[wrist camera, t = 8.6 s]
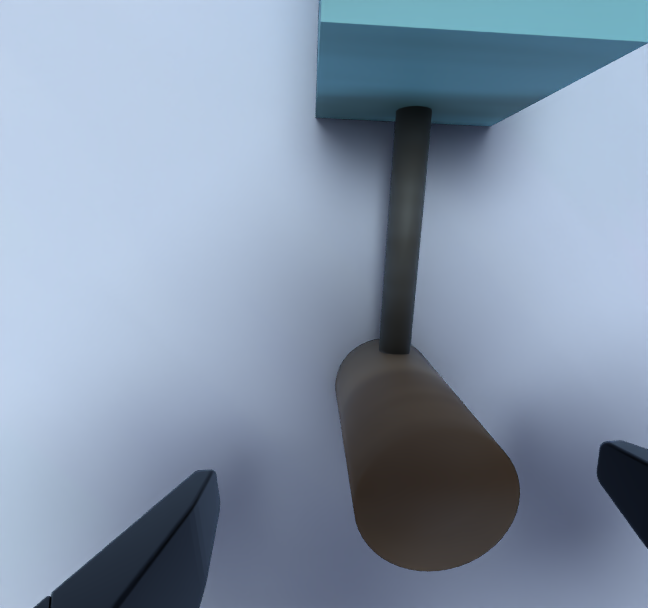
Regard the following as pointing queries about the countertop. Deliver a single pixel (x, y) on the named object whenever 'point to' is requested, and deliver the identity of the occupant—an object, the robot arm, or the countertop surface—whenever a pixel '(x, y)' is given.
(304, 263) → the countertop surface
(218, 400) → the countertop surface
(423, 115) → the blue handled block
